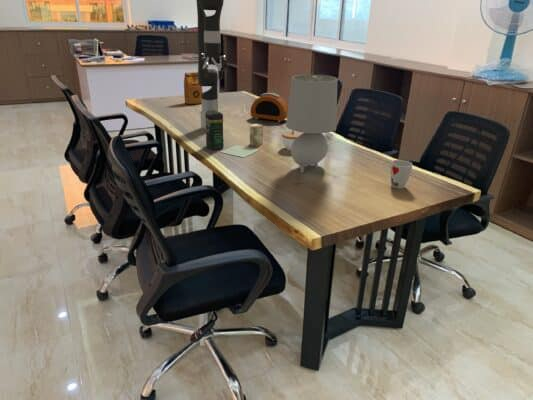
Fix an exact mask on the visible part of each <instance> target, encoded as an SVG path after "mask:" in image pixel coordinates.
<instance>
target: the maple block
mask: <svg viewBox="0 0 533 400" xmlns="http://www.w3.org/2000/svg"><path fill="white" fill-rule="evenodd" d="M263 144H264V125H263V124H259V123H253V124H250V125H249V145H250V146H256V147H259V146H261V145H263Z"/></svg>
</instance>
